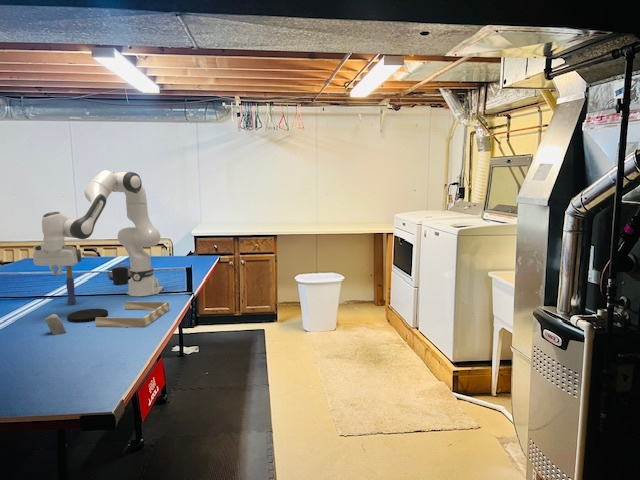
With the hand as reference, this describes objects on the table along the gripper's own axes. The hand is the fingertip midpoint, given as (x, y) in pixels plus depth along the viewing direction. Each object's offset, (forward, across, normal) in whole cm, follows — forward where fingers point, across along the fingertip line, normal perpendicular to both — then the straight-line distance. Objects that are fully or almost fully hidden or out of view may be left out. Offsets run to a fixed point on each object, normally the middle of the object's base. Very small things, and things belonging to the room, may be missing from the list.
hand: (56, 274), depth 222 cm
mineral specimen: (+21, -13, +23) cm, 34 cm away
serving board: (+22, +17, -101) cm, 105 cm away
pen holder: (+21, +6, -71) cm, 74 cm away
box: (+21, -37, 0) cm, 43 cm away
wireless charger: (+22, -14, 0) cm, 26 cm away
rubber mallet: (+21, +8, -22) cm, 32 cm away
